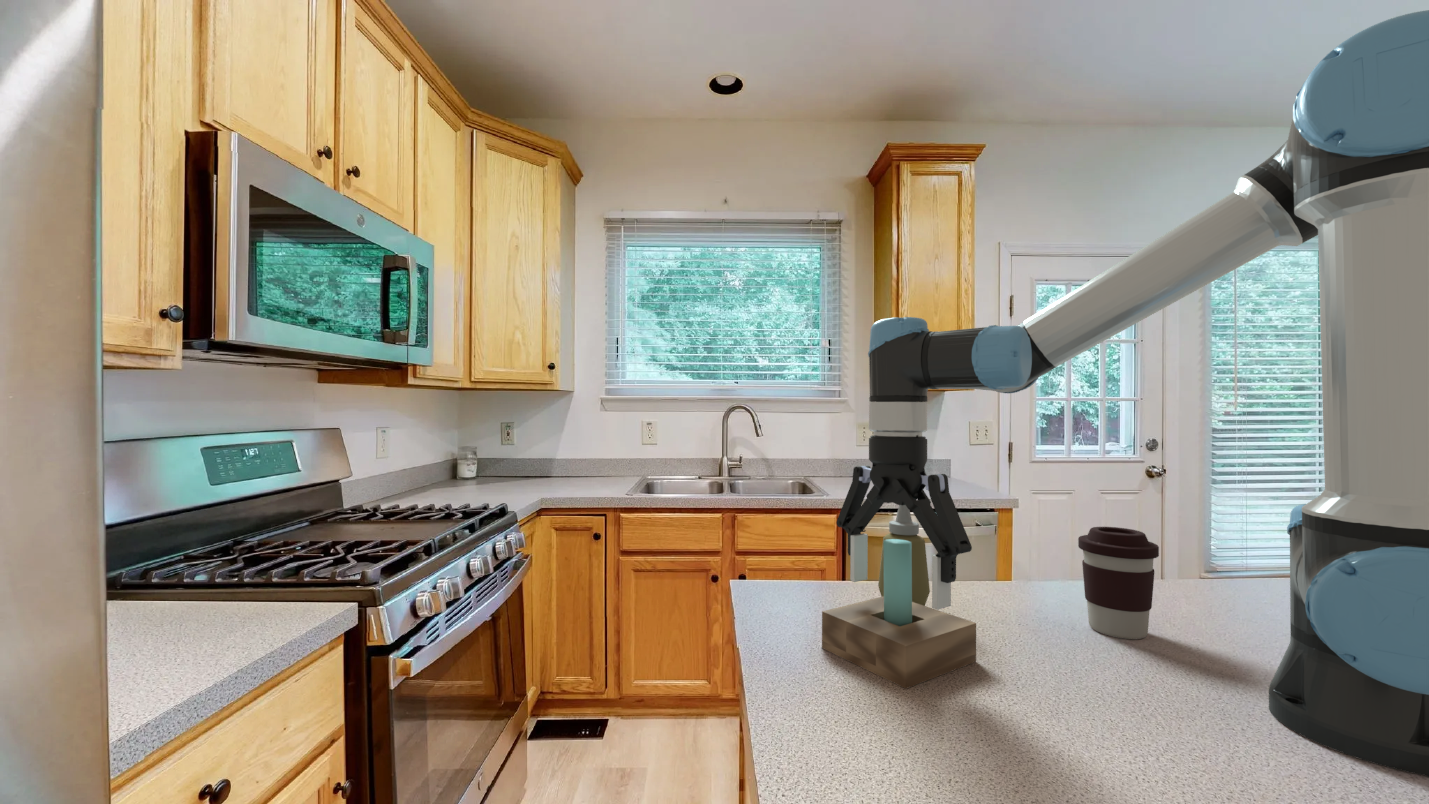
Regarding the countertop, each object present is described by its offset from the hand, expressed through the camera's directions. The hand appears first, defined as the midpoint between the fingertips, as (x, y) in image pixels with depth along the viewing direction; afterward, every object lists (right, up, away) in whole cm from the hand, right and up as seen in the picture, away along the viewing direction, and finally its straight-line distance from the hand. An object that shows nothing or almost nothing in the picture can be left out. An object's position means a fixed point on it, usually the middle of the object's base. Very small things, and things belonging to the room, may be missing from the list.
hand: (897, 593), depth 79 cm
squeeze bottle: (+6, -9, +17) cm, 20 cm away
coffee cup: (+36, -9, +9) cm, 38 cm away
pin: (0, -7, 0) cm, 7 cm away
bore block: (0, -8, 0) cm, 8 cm away
